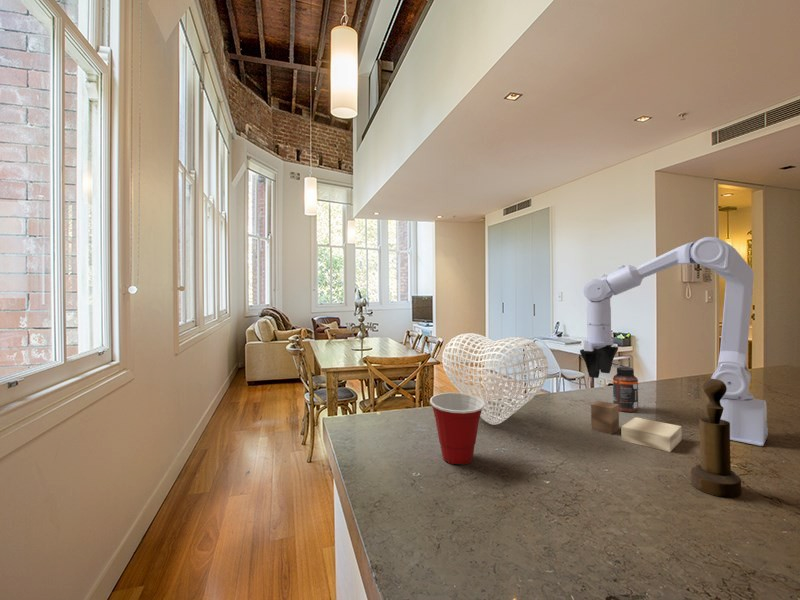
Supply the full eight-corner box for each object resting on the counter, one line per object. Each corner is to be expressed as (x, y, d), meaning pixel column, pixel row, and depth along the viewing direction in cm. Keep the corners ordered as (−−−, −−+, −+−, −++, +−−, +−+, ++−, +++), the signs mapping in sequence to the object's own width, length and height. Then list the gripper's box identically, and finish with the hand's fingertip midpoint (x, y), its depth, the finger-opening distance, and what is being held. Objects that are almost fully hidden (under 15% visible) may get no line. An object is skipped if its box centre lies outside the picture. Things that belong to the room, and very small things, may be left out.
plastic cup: (451, 476, 71) (449, 410, 71) (420, 455, 80) (419, 396, 80) (498, 463, 76) (496, 401, 76) (464, 444, 85) (463, 389, 85)
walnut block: (619, 429, 93) (618, 404, 92) (611, 434, 90) (611, 408, 89) (598, 425, 96) (598, 400, 96) (591, 429, 93) (591, 404, 93)
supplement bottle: (643, 412, 105) (642, 370, 104) (620, 413, 105) (620, 370, 105) (630, 406, 111) (630, 366, 110) (609, 406, 111) (608, 366, 110)
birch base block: (681, 439, 85) (681, 426, 85) (670, 452, 79) (669, 437, 79) (635, 429, 92) (635, 417, 92) (621, 440, 86) (621, 426, 86)
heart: (562, 431, 92) (560, 336, 92) (523, 449, 82) (521, 343, 82) (470, 406, 114) (469, 329, 113) (431, 417, 104) (429, 334, 104)
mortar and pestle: (692, 474, 70) (691, 373, 69) (740, 485, 65) (740, 377, 65) (689, 490, 64) (688, 380, 64) (742, 502, 60) (741, 385, 60)
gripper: (594, 322, 113) (595, 369, 114) (571, 325, 104) (572, 377, 104) (621, 323, 108) (621, 372, 108) (599, 327, 98) (600, 381, 99)
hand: (599, 375), depth 106 cm, fingers open, 7 cm apart
